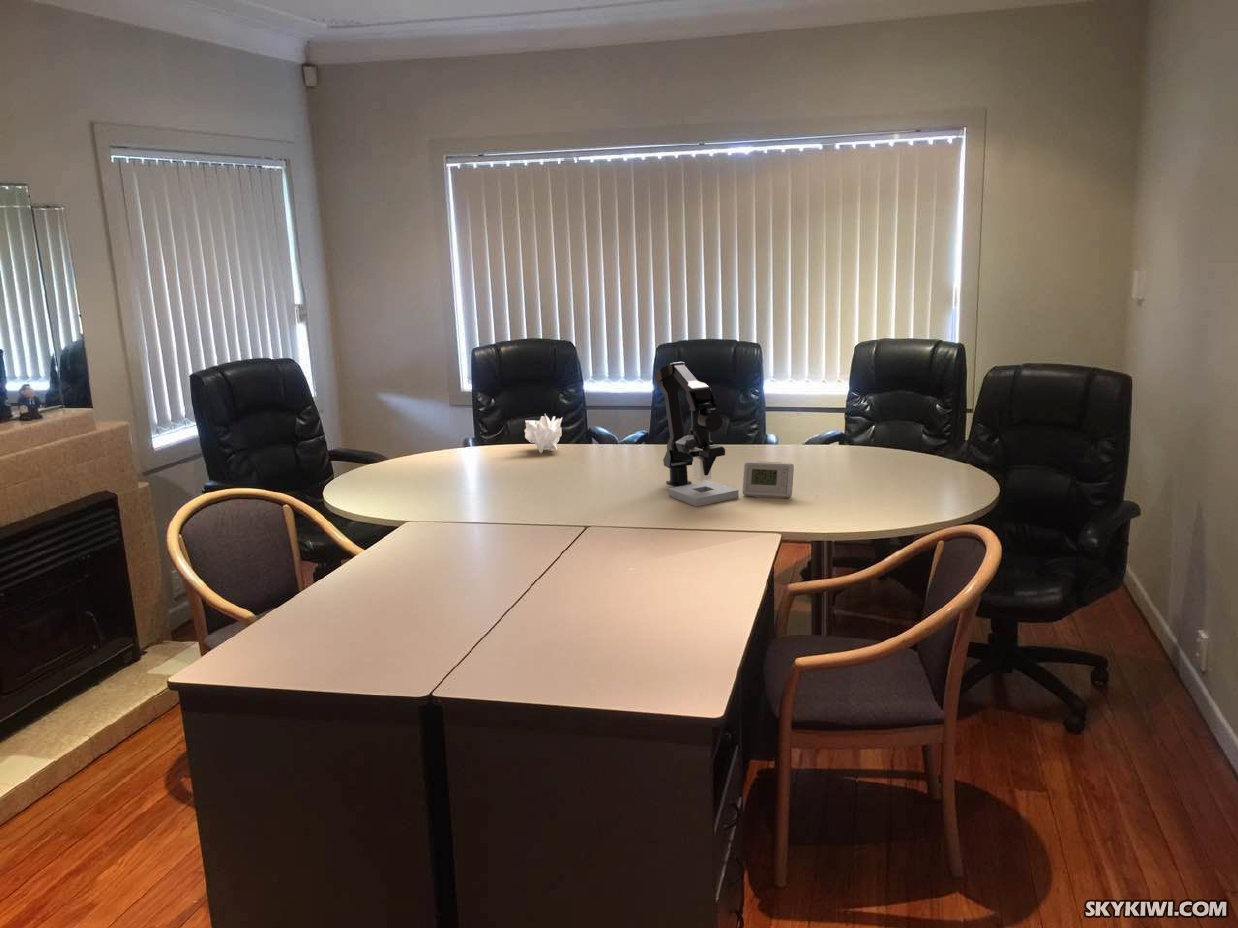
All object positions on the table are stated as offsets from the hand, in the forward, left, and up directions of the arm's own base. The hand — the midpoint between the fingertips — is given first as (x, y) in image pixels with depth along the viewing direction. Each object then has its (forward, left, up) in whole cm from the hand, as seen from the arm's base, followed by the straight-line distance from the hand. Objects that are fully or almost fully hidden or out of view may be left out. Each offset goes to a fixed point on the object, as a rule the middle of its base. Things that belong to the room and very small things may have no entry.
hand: (702, 473), depth 327 cm
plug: (0, 0, -2) cm, 2 cm away
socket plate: (0, 0, -8) cm, 8 cm away
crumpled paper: (-99, -12, -8) cm, 100 cm away
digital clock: (+12, +17, -8) cm, 22 cm away
